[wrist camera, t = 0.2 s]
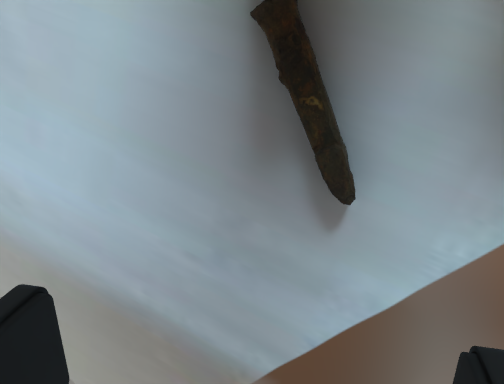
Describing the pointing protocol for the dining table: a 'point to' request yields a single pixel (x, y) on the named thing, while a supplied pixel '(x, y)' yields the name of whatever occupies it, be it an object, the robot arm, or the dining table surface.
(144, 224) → the dining table surface
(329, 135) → the hand tool
